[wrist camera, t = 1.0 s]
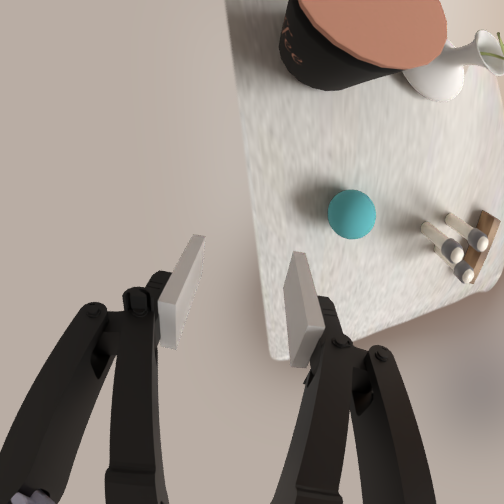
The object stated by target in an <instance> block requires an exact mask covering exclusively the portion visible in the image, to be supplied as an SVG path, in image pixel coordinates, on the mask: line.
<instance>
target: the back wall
mask: <svg viewBox="0 0 504 504" xmlns="http://www.w3.org/2000/svg"><path fill="white" fill-rule="evenodd" d="M499 224H500V220H498V219H497V218H495V217H494V216H492V215H490V214H489V213H487V212H485V211H483V210H482V213H481V216H480V219H479V221H478V224H477V227H476V228H477V229H479V230H480V231H482V232H483V233H484V234H486V235H487V237H488V246H487V248H486V249H485V250H484V251H482V252H478V251H476V250H475V249H474V248H473V247H472V246H470V245H469V247H468V250H467V252H466V254H465V256H464V259H463V260H465V261H466V262H467V263H468V264H469V265H470V266H471V267H472V268H473V270H474V277H473V279H472V280H471V282H469V283H471V284H474V282H475V280H476V278H477V276H478V274H479V272H480V270H481V268H482V266H483V263H484V261H485V259H486V257H487V254H488V252H489V250H490V247H491V245H492V242H493V240H494V237H495V235H496V232H497V230H498V227H499Z"/></svg>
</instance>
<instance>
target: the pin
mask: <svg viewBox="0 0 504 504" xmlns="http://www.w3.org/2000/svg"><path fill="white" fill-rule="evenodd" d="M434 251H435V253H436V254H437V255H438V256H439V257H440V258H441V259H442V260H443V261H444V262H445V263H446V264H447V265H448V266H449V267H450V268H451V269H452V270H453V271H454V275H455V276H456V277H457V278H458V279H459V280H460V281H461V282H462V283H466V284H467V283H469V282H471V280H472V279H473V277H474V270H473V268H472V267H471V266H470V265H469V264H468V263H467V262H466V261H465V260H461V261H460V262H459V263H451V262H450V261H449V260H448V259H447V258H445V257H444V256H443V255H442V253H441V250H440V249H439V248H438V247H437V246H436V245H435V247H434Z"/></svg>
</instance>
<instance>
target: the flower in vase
mask: <svg viewBox="0 0 504 504" xmlns="http://www.w3.org/2000/svg"><path fill="white" fill-rule="evenodd" d="M497 35H498V38H499V42H500V44H499V42H498V41H497V40H496V38H495V37H494V36H493V35H492V34H491V33H489V32H488V31H486V30H479V31H477V33H476V35H475V39H474V40H473V42H471V43H470V44H468V45H465V46H463V47H459V48H455V47H454V45H453V44H452V43H451V42H450V41H449V40H448V39H447V40H446V42H445V45H444V47H443V49H442V52H441V54H440V55H439V56H437V57H436V58H435V59H434V60H433V61H431V62H430V63H429V64H428V65H424V66H420V67H416V68H412V69H408V70H404V71H402V72H403V74H404V76H405V77H406V79H407V80H408V82H409V83H410V84H411V85H412V86H413V88H414V89H415V90H416V91H418V92H419V93H420V94H421V95H423V96H424V97H426V98H428V99H430V100H432V101H436V102H447V101H450V100H452V99H453V98H454V97H456V96H457V95H458V94H459V92H460V91H461V89H462V87H463V83H464V68H463V66H465V65H478V66H482V67H485V68H487V69H488V70H489V71H490V72H491V73H493V74H494V75H496V76H502V75H504V44H503V42H502V40H501V38H500V33H499V32H498V33H497Z"/></svg>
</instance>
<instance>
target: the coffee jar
mask: <svg viewBox="0 0 504 504" xmlns="http://www.w3.org/2000/svg"><path fill="white" fill-rule="evenodd" d="M446 40H447V21H446V18H445V15H444V11H443V9H442V6H441V3H440V1H439V0H289V1H288V6H287V10H286V14H285V19H284V23H283V27H282V32H281V37H280V43H279V50H280V55H281V59H282V61H283V63H284V64H285V66H286V68H287V69H288V71H289V72H290V73H291V74H292V75H293V76H295V77H296V78H297V79H298V80H299V81H301V82H302V83H304V84H306V85H308V86H310V87H312V88H316V89H320V90H324V91H335V90H342V89H345V88H348V87H351V86H354V85H357V84H360V83H363V82H366V81H369V80H373V79H376V78H379V77H383V76H386V75H390V74H393V73H397V72H400V71H404V70H408V69H412V68H416V67H420V66H424V65H428V64H429V63H430V62H431V61H433V60H434V59H435V58H436V57H437V56H439V55H440V54H441V52H442V49H443V47H444V45H445V42H446Z"/></svg>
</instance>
